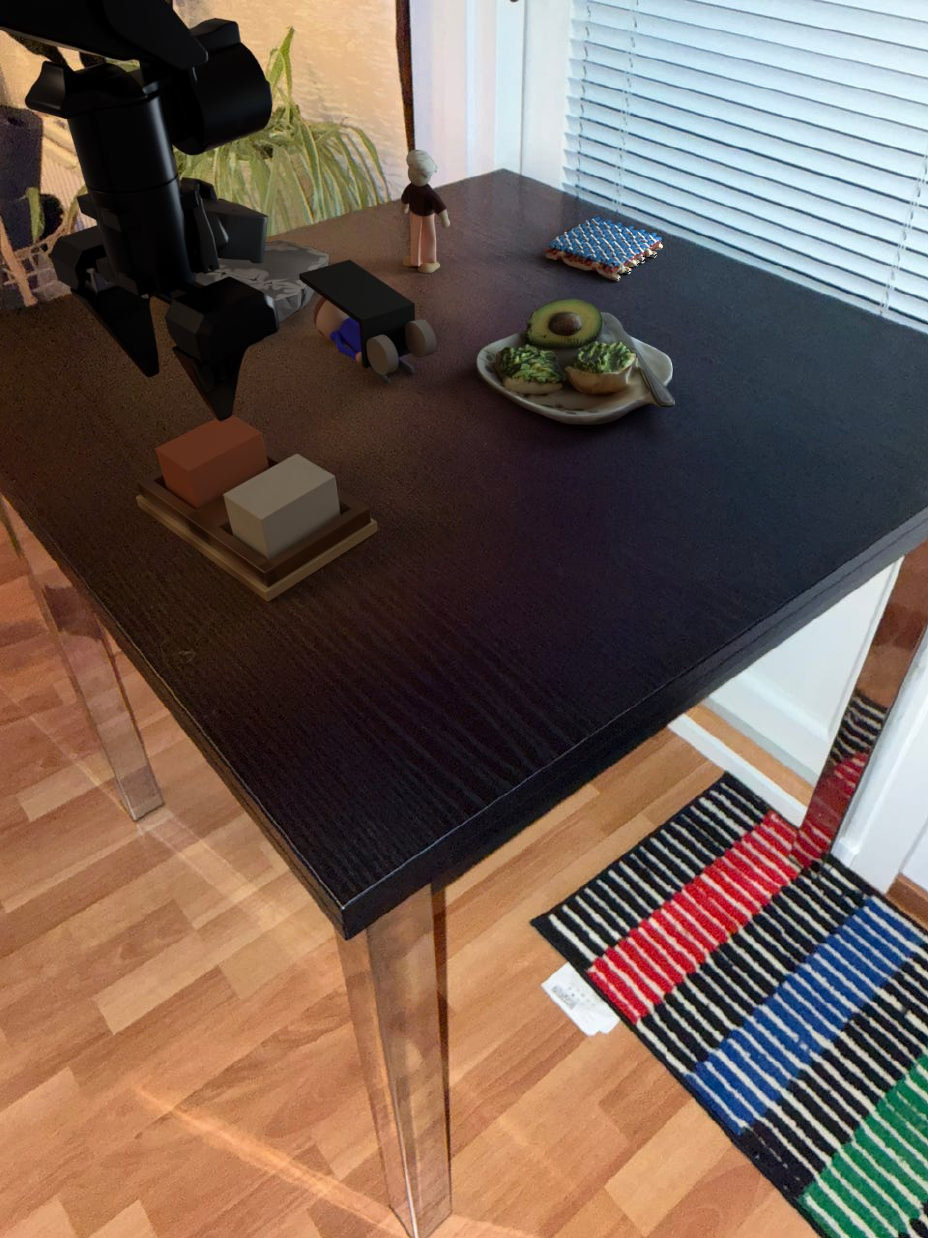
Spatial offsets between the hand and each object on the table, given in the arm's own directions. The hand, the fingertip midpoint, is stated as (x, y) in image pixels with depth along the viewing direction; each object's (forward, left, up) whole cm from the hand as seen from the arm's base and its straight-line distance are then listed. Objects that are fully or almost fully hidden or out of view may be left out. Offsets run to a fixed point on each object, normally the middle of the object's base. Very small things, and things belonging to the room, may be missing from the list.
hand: (187, 396), depth 69 cm
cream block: (+6, -6, -9) cm, 12 cm away
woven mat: (+44, +41, -10) cm, 60 cm away
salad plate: (+34, +15, -10) cm, 38 cm away
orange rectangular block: (+1, +1, -9) cm, 9 cm away
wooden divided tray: (+3, -3, -10) cm, 11 cm away
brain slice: (+2, +37, -10) cm, 38 cm away
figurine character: (+15, +22, -10) cm, 28 cm away
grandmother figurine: (+23, +42, -10) cm, 48 cm away
